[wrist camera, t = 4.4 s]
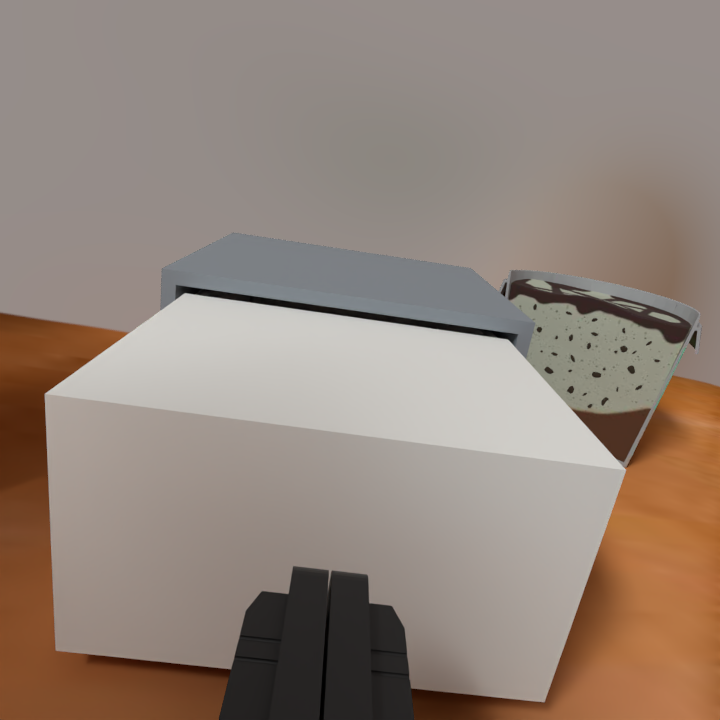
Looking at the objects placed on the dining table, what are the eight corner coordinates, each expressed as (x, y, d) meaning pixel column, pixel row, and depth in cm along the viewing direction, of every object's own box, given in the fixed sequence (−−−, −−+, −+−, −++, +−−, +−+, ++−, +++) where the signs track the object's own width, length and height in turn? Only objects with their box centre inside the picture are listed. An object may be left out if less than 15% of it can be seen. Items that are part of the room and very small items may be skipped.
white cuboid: (544, 702, 16) (626, 470, 13) (55, 650, 15) (44, 393, 13) (432, 386, 39) (454, 280, 37) (237, 359, 38) (246, 249, 36)
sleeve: (485, 510, 27) (535, 322, 24) (155, 469, 26) (161, 268, 23) (442, 398, 40) (470, 268, 37) (223, 368, 39) (233, 232, 36)
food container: (670, 448, 37) (723, 307, 34) (652, 478, 33) (711, 318, 30) (505, 387, 44) (536, 265, 41) (470, 404, 40) (502, 268, 36)
